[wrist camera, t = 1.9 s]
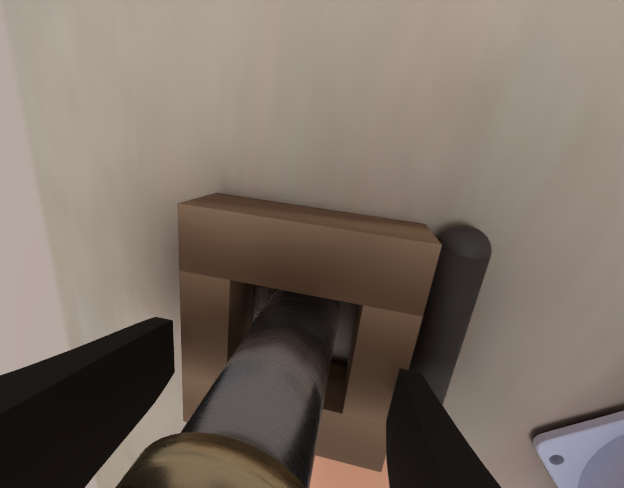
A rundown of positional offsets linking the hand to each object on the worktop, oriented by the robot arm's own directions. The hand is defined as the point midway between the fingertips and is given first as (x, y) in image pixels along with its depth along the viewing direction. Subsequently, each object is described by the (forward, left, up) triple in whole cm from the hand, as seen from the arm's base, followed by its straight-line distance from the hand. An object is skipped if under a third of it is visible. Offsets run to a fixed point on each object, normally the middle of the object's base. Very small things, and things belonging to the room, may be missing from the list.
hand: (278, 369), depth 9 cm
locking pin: (0, 0, -4) cm, 4 cm away
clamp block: (0, 0, -4) cm, 4 cm away
